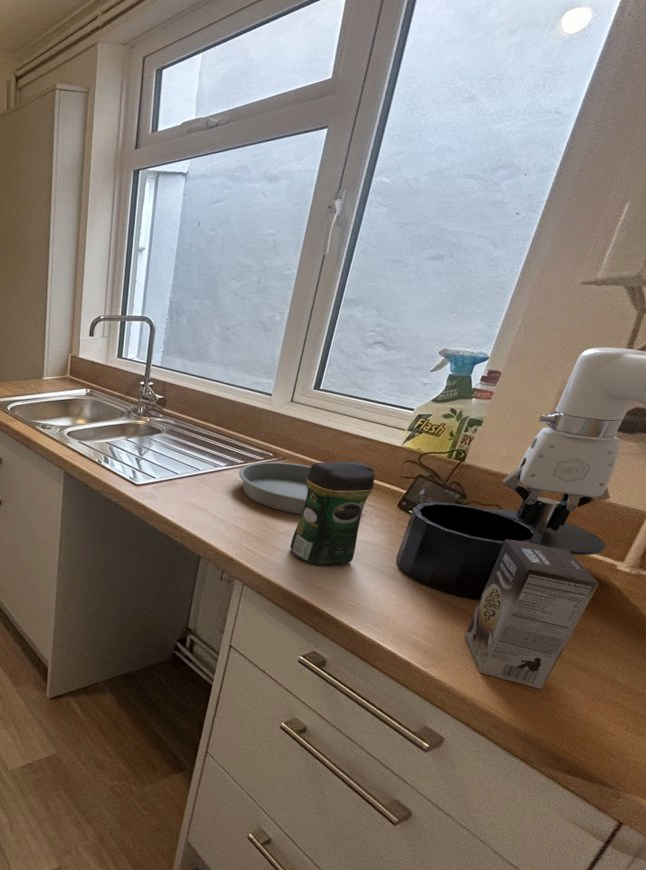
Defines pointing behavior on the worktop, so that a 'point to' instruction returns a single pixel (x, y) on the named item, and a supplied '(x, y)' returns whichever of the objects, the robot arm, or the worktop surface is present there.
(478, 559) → the bin
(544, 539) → the bin lid
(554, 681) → the worktop surface
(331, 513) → the coffee jar
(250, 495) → the cake pan
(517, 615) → the coffee box
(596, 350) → the robot arm
